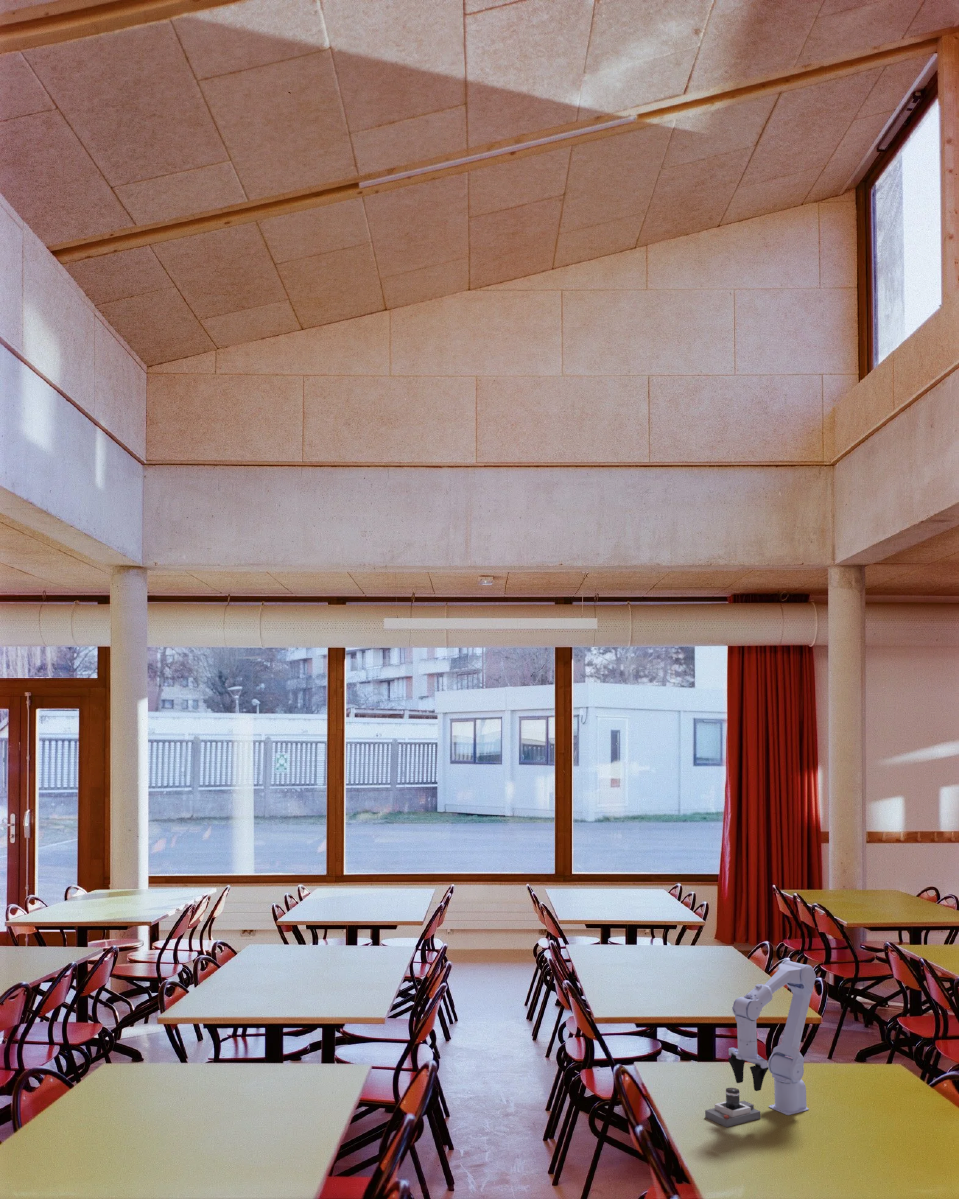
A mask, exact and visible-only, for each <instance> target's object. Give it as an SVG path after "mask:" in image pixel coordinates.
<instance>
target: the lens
mask: <svg viewBox="0 0 959 1199" xmlns="http://www.w3.org/2000/svg"><path fill="white" fill-rule="evenodd" d="M740 1095H741V1094H740V1090H739V1089H738V1088H736V1087H726V1088H725V1101H726V1108H728V1109H731V1110H736V1109H740V1101H741V1100H740Z"/></svg>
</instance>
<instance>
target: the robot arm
mask: <svg viewBox="0 0 959 1199" xmlns="http://www.w3.org/2000/svg"><path fill="white" fill-rule="evenodd" d="M816 979H817V975H816V973H815V970H814V968H813V966H812V965H810V964H803V963H800V962H795V961H791V960H788V959H783V961H781V963H779V964H778V965H777V971H775V973H774V974H773V975H772V976H771V977H770V978H769V979H768V980H767V981H766V982H765V983H764V984H763V983H756V984H755V985H754V988H752V989H751V990H750V991H749V992H748V993H746V994H745V995H744V996H739V997H738V998H737V997H736V999H735V1000H734V1001H733V1004H732V1008H731V1010H732V1013H733V1015H734V1018H735V1019H734V1020H735V1021H736V1028H737V1029H736V1031H737V1033H736V1034H737V1035H736V1036H737V1047H736V1048H735V1047H729V1048H728V1056H730V1057H728V1058H727V1061H728V1062H729V1064H730V1067H731V1068H732V1072H733V1074H734V1078H735V1082H736V1084H741V1083H743V1082H744V1069H745V1062H748V1063H751V1064H753V1065H752V1066H749V1069H750V1072H751V1074H752V1081H753V1084H752V1085H753V1090H754V1091H756V1092H757V1091H761V1090H762V1086H763V1082H764V1078H765V1076H766V1074H767V1072H768V1071H769V1072H770V1074H771V1077H772V1078H773V1081H774V1082H773V1087H774V1088H773V1089H774V1104H770V1105H768V1108H769V1109H772V1110H774V1111H777V1112H779V1113H782V1114H783V1115H786V1116H791V1115H794V1114H795V1115H796V1114H798V1113H803V1112H805V1111H806V1112H807V1111H809V1109H810V1108H809V1107H807V1105H808V1104H807V1088H806V1084H805V1082H804V1081H803V1079H802V1078H803V1077H804V1073H805V1070H804V1069H805V1068H804V1066H805V1065H804V1064H805V1058H804V1056H803V1055H802V1053H801V1052H800V1045H801V1041H802V1036H803V1032H804V1028H805V1024H806V1019H807V1015H808V1011H809V1007H810V1003H811V999H812V995H813V991H814V987H815V982H816ZM784 986H787V988H788V989H789V990H790V991H791V993H792V998H791V1000H790V1001H791V1002H790V1006H789V1010H788V1013H787V1018H786V1022H785V1026H784V1032H783V1035H782V1039H781V1043H780V1044H778V1045H777V1046H775V1047H773V1049H772V1053H771V1055H770V1056H769V1058H768V1060H766V1059H765V1058H763V1057H762V1056H760V1055H759V1054H758V1037H757V1036H758V1033H757V1019H759V1018H760V1015H761V1012H762V1011H763V1008H765V1006H766V1005H768V1004H770V1002H771V1001H772V1000H773V994H774V993H775V992H777V991H778V990H780V989H781V988H783V987H784Z"/></svg>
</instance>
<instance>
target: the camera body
mask: <svg viewBox="0 0 959 1199" xmlns="http://www.w3.org/2000/svg"><path fill="white" fill-rule="evenodd" d="M704 1113H705V1114H704V1117H705V1118H706V1119H708V1120H711V1121H712V1122H715V1123H716V1124H719V1125H720V1126H723V1127H724V1128H729V1127H733V1126H737V1125H740V1124H745V1123H748V1122H753V1121H755V1120H759V1119H760V1120H761V1111H760V1110H758V1109H755V1105H754V1104H752V1103H751V1102H748V1101H746V1100H740V1109H736V1110H731V1109H728V1108H726V1100H725V1101H722V1102H721V1101H720V1102H718V1103H714V1107H713V1108H710V1109H709V1108H708V1109H706V1110H705V1111H704Z"/></svg>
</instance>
